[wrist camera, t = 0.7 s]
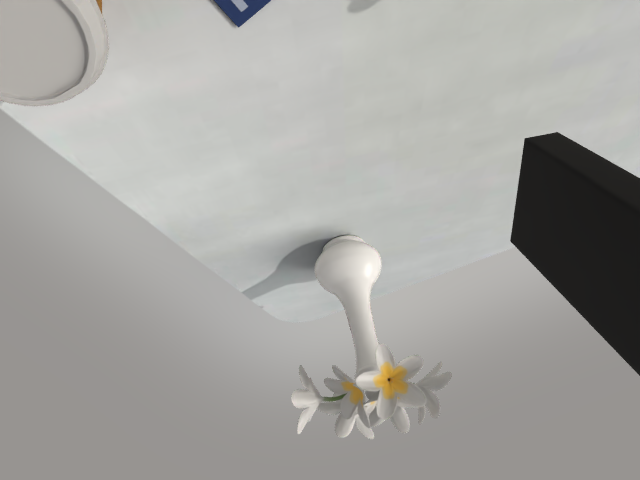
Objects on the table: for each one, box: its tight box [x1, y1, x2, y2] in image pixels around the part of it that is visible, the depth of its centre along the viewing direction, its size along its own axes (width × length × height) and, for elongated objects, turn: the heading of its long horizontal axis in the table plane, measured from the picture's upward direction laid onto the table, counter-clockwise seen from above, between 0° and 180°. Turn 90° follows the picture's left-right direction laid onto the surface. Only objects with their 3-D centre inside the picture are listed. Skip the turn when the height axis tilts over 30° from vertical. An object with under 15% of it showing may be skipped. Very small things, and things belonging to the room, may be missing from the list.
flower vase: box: [291, 235, 452, 439], centre depth 57 cm, size 13×18×25 cm
